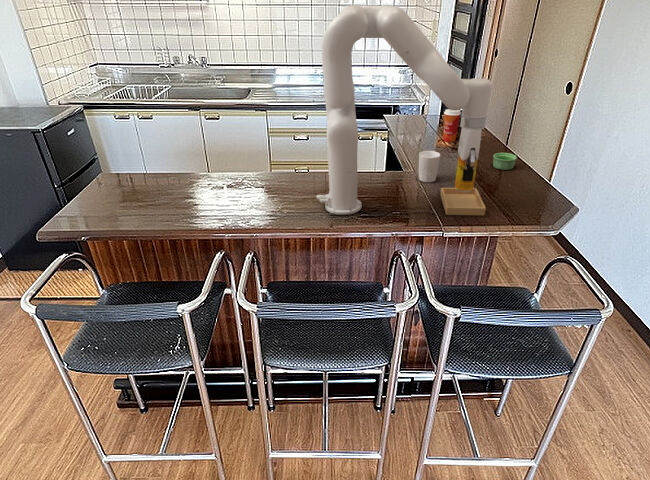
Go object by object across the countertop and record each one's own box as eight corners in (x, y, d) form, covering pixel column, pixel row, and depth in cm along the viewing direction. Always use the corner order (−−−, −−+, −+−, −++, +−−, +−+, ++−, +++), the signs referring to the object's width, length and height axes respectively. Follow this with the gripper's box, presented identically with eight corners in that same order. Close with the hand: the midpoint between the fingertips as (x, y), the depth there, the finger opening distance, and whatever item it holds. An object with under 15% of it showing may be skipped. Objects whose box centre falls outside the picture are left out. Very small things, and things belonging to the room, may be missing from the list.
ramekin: (517, 170, 175) (520, 159, 173) (495, 170, 175) (497, 160, 173) (510, 162, 183) (512, 152, 180) (489, 163, 183) (490, 152, 180)
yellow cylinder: (460, 193, 144) (466, 149, 136) (451, 186, 149) (456, 143, 141) (476, 191, 145) (483, 147, 137) (467, 184, 150) (473, 141, 142)
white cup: (436, 175, 173) (439, 150, 167) (438, 183, 166) (441, 157, 161) (416, 175, 174) (418, 150, 168) (417, 182, 167) (419, 157, 162)
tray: (446, 214, 144) (447, 207, 143) (440, 194, 158) (441, 187, 156) (484, 215, 143) (485, 208, 142) (475, 194, 157) (476, 188, 155)
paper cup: (438, 138, 212) (441, 109, 204) (452, 137, 214) (455, 107, 206) (446, 143, 206) (449, 113, 198) (460, 141, 207) (464, 111, 200)
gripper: (456, 114, 143) (450, 167, 152) (465, 129, 128) (457, 187, 138) (480, 114, 142) (472, 167, 152) (491, 129, 128) (482, 187, 137)
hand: (465, 176), depth 145 cm, fingers closed on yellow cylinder, 6 cm apart
